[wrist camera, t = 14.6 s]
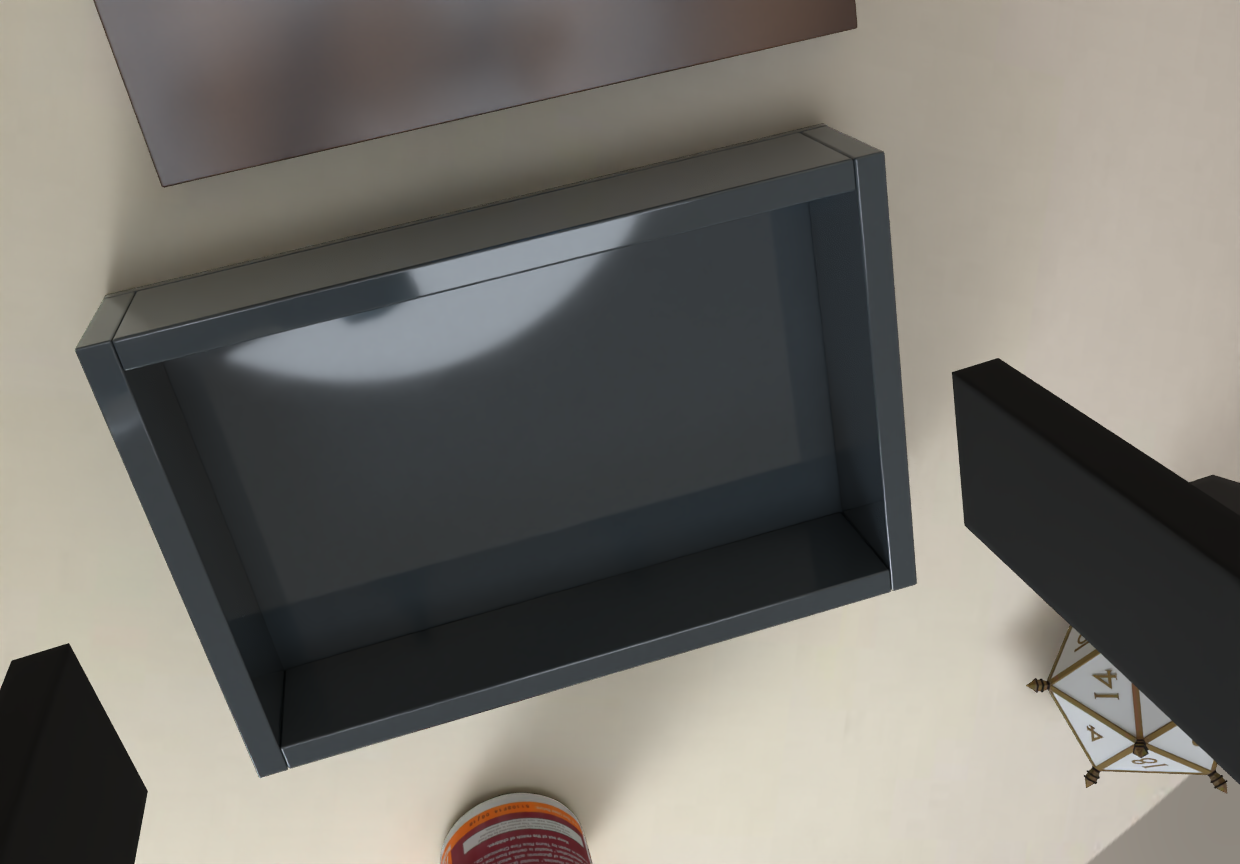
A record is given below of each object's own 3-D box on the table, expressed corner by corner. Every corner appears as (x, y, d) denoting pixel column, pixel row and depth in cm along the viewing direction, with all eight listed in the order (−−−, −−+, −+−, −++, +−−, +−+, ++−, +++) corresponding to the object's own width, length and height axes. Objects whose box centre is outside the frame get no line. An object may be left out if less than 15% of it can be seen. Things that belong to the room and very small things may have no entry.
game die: (1005, 605, 55) (971, 729, 46) (1149, 498, 50) (1140, 615, 42) (1147, 736, 54) (1139, 886, 46) (1306, 641, 49) (1329, 789, 41)
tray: (266, 690, 43) (259, 779, 39) (104, 294, 36) (73, 349, 32) (862, 520, 46) (918, 585, 42) (823, 122, 39) (885, 150, 35)
